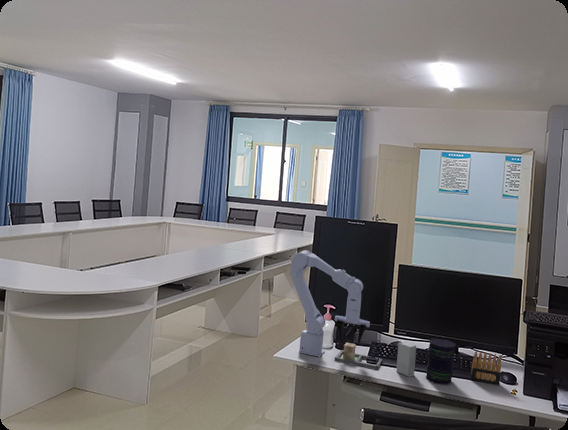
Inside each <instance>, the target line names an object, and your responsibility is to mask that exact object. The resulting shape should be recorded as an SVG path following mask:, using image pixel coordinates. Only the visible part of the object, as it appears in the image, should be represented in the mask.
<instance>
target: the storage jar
mask: <svg viewBox="0 0 568 430" xmlns="http://www.w3.org/2000/svg"><path fill="white" fill-rule="evenodd" d="M455 355H456V343H455V342H453V341H451V340H449V339H444V338H430V339H429V346H428V361H427V365H426V370H425V371H426V376H425V379H426V380H427V381H429V382H431V383H433V384H436V385H442V386H445V385H451V384H452V379H453V371H454V368H453V366H454V365H453V364H454V360H455Z"/></svg>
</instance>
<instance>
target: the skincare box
mask: <svg viewBox="0 0 568 430" xmlns="http://www.w3.org/2000/svg"><path fill="white" fill-rule="evenodd" d="M416 353H417V345H415V344H413V343H409V342H408V341H400V342H398V344H397V357H396V370H395V371H396V373H399V374H401V375H404V376H406V377H413V376H414V375H415V367H416V358H417V357H416V355H417V354H416Z"/></svg>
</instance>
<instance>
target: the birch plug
mask: <svg viewBox="0 0 568 430" xmlns="http://www.w3.org/2000/svg"><path fill="white" fill-rule="evenodd" d="M356 345H357V344H355V343H351V342H345V344H343V351H344V352H343V354H342V355H343V359H348V360H353V359H354V358H355V353H356V348H357V347H356Z"/></svg>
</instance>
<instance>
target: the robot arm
mask: <svg viewBox="0 0 568 430" xmlns="http://www.w3.org/2000/svg"><path fill="white" fill-rule="evenodd" d="M290 262H291V265H290V273H289V275H290V278H291V281H292V282H293V285H294V288H295V290H296V293H297V296H298V298H299V300H300V303H301V306H302V308H303V310H304V314H305V317H304V319H305V321H306V329H305V330H302V331H301V333H300V339H299V350H298V353H300V354H306V355H309V356H314V357H319V358H320V357H321V356H322V355H323V354H324V353H325V352H326V350H325V349H323V344H324V333H325V331H324V330H323V328H324V327H325V325H326V319H325V317H324V316H323V315H322V314H321V313H320V310H319V308H317V306H316V304H315V301H314V298H313V296H312V294H311V291H310V288H309V286H308V284H307V281H306V279H305V276H304V272H305V270H306V268H317V269H318V270H320V271H322V272H323V273H325V274H327V275H329V276H330V277H331V279H332V281H333V282H334V283H336V284H337V285H339V286H340V287H342V288H344V289H345V290H347V292H348V294H347V299H346V300H347V301H346V307H345V308H346V309H345V316H343V315H335V316H334V321H335V322H336V327H337V329H338V333H339V340H342V339H343V338H344V330H345V329H344V328H345V323H348V324H352V325H353V324H354V325H358V326H359V327H358V338H357V344H361V341H362V337H363V335H364V333H365V331H366V329H367V328H370V323H371V322H370V321H368V320H366V319H365V320H364V319H361V318H360V314H361V305H362V291H363V289H364V284H363V282H362V281H361V279H359V278H356V277H355V276H351V275H350V274H348V273H347V272H346V270H345V269H335V268H334V267H333V266H332V265H330V264H328V263H327V262H326V261H324V260H323V259H322V258H320V257H319V256H317V254H315V253H313V252H311V251H310V250H308V249H304V250H301V251H299V252H297V253H295V254H294V255H293V258H292V259H291V261H290Z"/></svg>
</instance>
